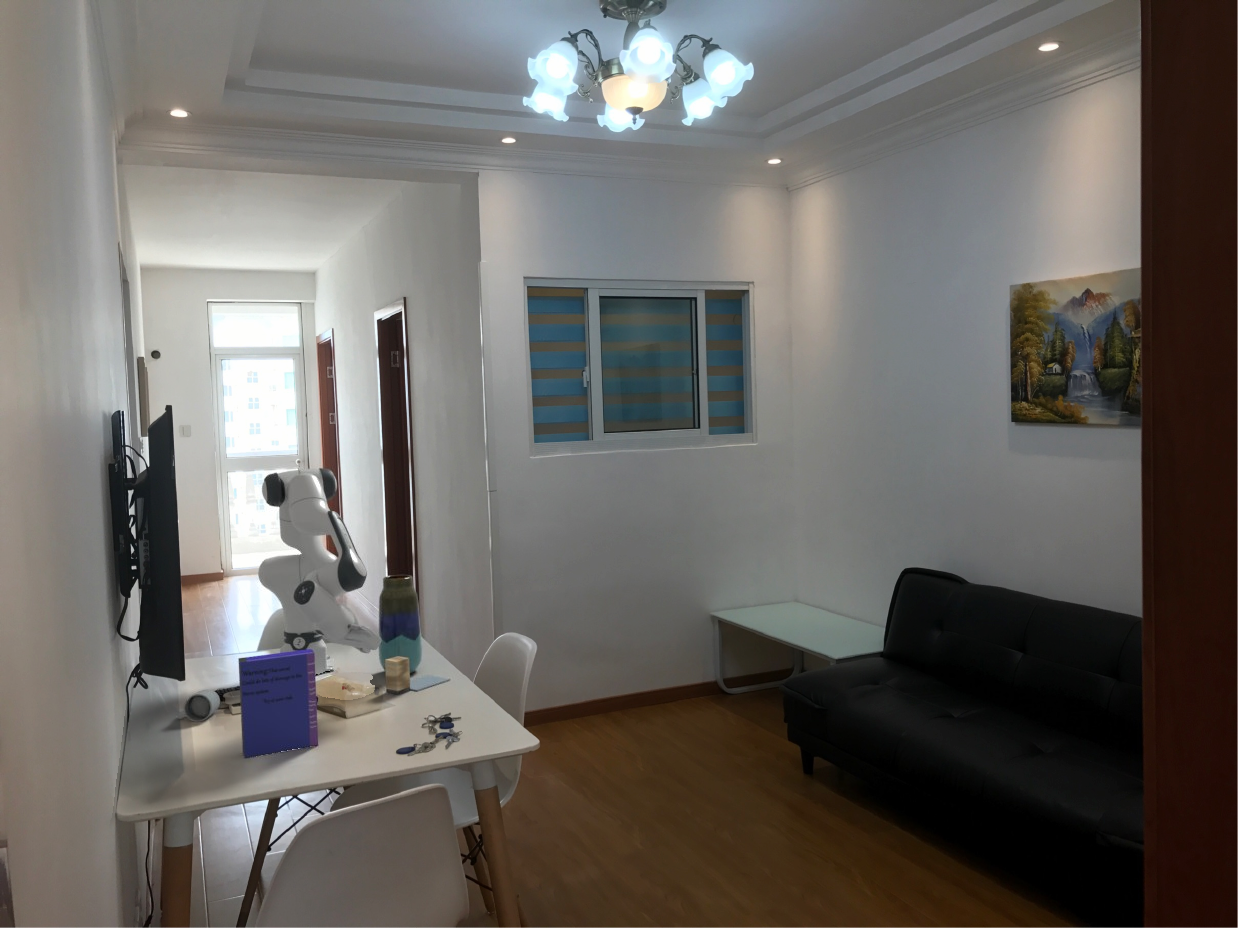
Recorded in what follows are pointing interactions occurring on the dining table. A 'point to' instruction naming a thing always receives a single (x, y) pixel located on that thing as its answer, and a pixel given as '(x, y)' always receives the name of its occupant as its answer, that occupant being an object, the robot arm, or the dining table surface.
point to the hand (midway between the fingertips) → (366, 650)
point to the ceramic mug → (200, 706)
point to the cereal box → (278, 702)
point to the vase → (399, 621)
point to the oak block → (397, 675)
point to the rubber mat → (425, 682)
